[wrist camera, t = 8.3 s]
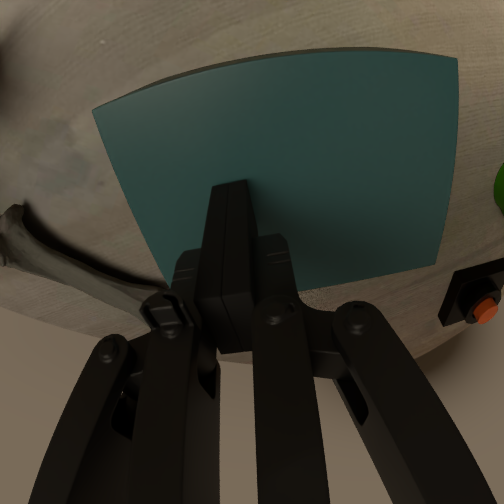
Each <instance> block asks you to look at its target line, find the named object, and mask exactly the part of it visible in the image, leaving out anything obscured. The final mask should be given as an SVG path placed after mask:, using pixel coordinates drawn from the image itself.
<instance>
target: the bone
mask: <svg viewBox="0 0 504 504" xmlns="http://www.w3.org/2000/svg"><path fill="white" fill-rule="evenodd" d="M23 213H24V208H23V206H21V205H18V204H14V205H12V206H11V207H9V208H8V209H7V210H6V211H5V212H4V214H3V215H1V216H0V265H1V266H7V267H10V268H16V269H18V270H21V271H23V272H27V273H30V274H34V275H37V276H41V277H44V278H47V279H50V280H53V281H56V282H59V283H62V284H65V285H68V286H72V287H74V288H76V289H78V290H81V291H83V292H85V293H87V294H89V295H91V296H92V297H94V298H96V299H98V300H100V301H103V302H105V303H107V304H109V305H112V306H114V307H116V308H119V309H121V310H124V311H126V312H129V313H130V314H132V315H133V316H135V317H136V318H138V319H139V320H141V321H142V322H143V323H145V324H146V325H147V326H149V325H148V324H147V323H146V321H145V320H144V318H143V317H142V315H141V314H140V313H139V309H140V307H141V305H142V303H143V302H144V301H145V300H146V299H147V298H148V297H149V296H151V295H153V294H154V293H156V292H159V291H163V290H165V289H164V288H161V287H157V286H149V285H142V284H135V283H129V282H126V281H123V280H120V279H117V278H115V277H112V276H109V275H107V274H104V273H102V272H99V271H97V270H95V269H93V268H91V267H90V266H88V265H86V264H84V263H82V262H80V261H78V260H76V259H73V258H71V257H68V256H66V255H64V254H62V253H60V252H58V251H56V250H54V249H51V248H49V247H47V246H46V245H44V244H43V243H41V242H39V241H38V240H37V239H35V238H34V237H33V236H32V235H31V234H30V233H29V232H28V230H27V229H26V228H25V227H24V225H23V222H22V215H23Z"/></svg>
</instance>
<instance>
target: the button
mask: <svg viewBox="0 0 504 504" xmlns="http://www.w3.org/2000/svg"><path fill="white" fill-rule="evenodd" d="M497 311H498V306H497V305H496V303H495V301H494V300H493V298H492V297H490V298H488V299H486V300H484V301H483V302H482V303H480V304H479V306H478V307H477V308H476V309H475V310H474V312H473V314H474V316H475V318H476V320H477V322H478V323H479V324H484V323H486V322H487V321H489V320H490V319H491V318H492V317H493V316H494V315H495V314H496V313H497Z"/></svg>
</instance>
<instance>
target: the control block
mask: <svg viewBox="0 0 504 504" xmlns="http://www.w3.org/2000/svg"><path fill="white" fill-rule="evenodd" d="M503 285H504V258H502V259H498V260H495V261H491V262H488V263H484V264H481V265H477V266H474V267H470V268H467V269H463V270H459V271H455V272H454V274H453V277H452V280H451V283H450V286H449V288H448V291H447V294H446V296H445V299H444V301H443V304H442V306H441V309H440V311H439V314H438V317H439V319H440V321H441V323H442V326H443V327H445V326H448V325H451V324H454V323H457V322H460V321H462V320H465V321H466V323H469V324H473V323H476V322H477V320H476V318H475V316H474V314H473V312H474V310H475V309H476V308H477V307H478V306H479V304H480V303H482V302H483V301H484V300H486V299H488V298H490V297H492V298H493V300H494V301H495V303H496V305H498V303H499V302H500V300H501V289H502V287H503Z"/></svg>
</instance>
